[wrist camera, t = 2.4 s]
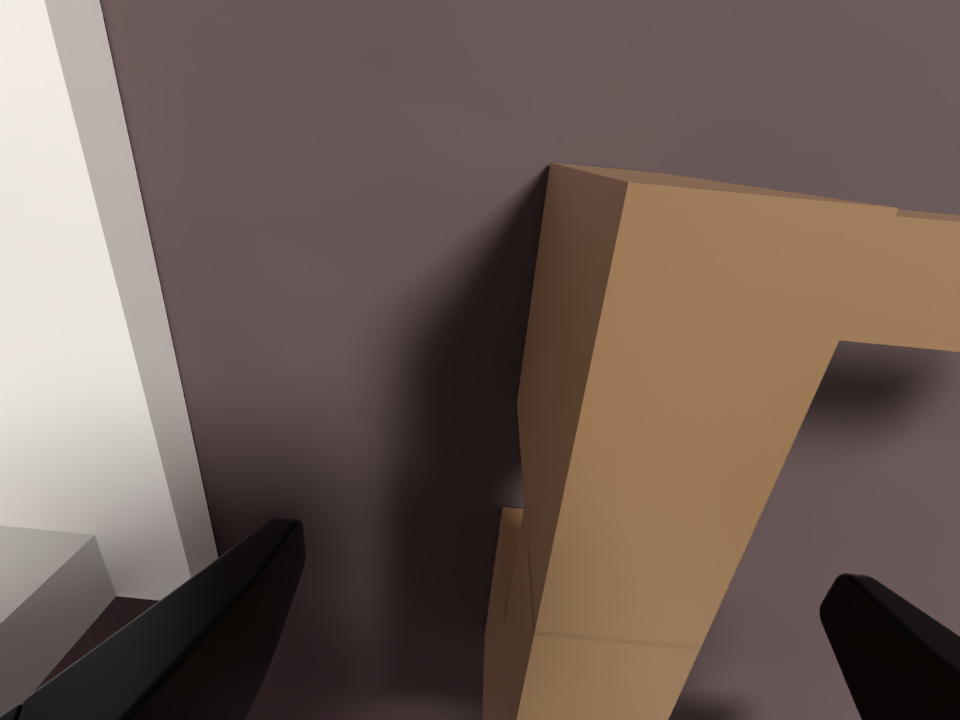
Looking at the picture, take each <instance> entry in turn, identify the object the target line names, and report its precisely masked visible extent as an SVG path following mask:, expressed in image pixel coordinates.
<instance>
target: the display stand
mask: <svg viewBox="0 0 960 720" xmlns="http://www.w3.org/2000/svg"><path fill="white" fill-rule="evenodd" d="M216 559H218V554H217V549H216V544H215V540H214V535H213V530H212V526H211V521H210V516H209V512H208V507H207V502H206V497H205V493H204V488H203V483H202V479H201V474H200V469H199V465H198V460H197V455H196V451H195V446H194V441H193V436H192V432H191V427H190V422H189V418H188V413H187V408H186V404H185V399H184V394H183V390H182V385H181V380H180V375H179V371H178V366H177V361H176V357H175V352H174V347H173V343H172V338H171V333H170V329H169V324H168V319H167V314H166V310H165V305H164V300H163V296H162V291H161V286H160V282H159V277H158V272H157V268H156V263H155V258H154V253H153V249H152V244H151V239H150V235H149V230H148V225H147V221H146V216H145V211H144V207H143V202H142V197H141V192H140V188H139V183H138V178H137V174H136V169H135V164H134V160H133V155H132V150H131V146H130V141H129V136H128V131H127V127H126V122H125V117H124V113H123V108H122V103H121V99H120V94H119V89H118V85H117V80H116V75H115V70H114V66H113V61H112V56H111V52H110V47H109V42H108V38H107V33H106V28H105V23H104V19H103V14H102V9H101V5H100V0H0V716H1V715H3V714H4V713H5V712H7V711H8V710H9V709H11V708H12V707H14V706H15V705H17V704H23V702H24V700H25V699H26V698H27V697H28V696H29V695H30V694H32V693H33V692H34V691H35V689H36V688H37V687H38V686H39V685H40V684H41V682H42V681H43V680H44V679H45V678H46V677H47V676H48V674H49V673H50V672H51V671H52V670H53V669H54V667H55V666H56V665H57V664H58V663H59V662H60V661H61V659H62V658H63V657H64V656H65V655H66V654H67V653H68V651H69V650H70V649H71V648H72V647H73V646H74V644H75V643H76V642H77V641H78V640H79V639H80V638H81V636H82V635H83V634H84V633H85V632H86V631H87V629H88V628H89V627H90V626H91V625H92V624H93V623H94V621H95V620H96V619H97V618H98V617H99V616H100V615H101V613H102V612H103V611H104V610H105V609H106V608H107V606H108V605H109V604H110V603H111V602H112V601H113V600H114V598H115V597H116V596H120V597H130V598H139V599H149V600H159V601H160V600H161V599H163V598H164V597H165V596H167V595H168V594H169V593H171V592H172V591H174V590H175V589H176V588H178V587H179V586H180V585H182V584H183V583H185V582H186V581H187V580H189V579H190V578H191V577H193V576H194V575H196V574H197V573H198V572H200V571H201V570H202V569H204V568H205V567H207V566H208V565H209V564H211V563H212V562H213V561H215V560H216Z"/></svg>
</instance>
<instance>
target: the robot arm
mask: <svg viewBox="0 0 960 720" xmlns="http://www.w3.org/2000/svg"><path fill="white" fill-rule="evenodd" d="M305 557H306V552H305V542H304V533H303V524H302V522H301V520H300V519H298V518H290V517H280V516H279V517H275V518H273V519H271V520H270V521H268V522H267V523H266V524H264V525H263V526H262V527H260V528H259V529H257V530H256V531H255V532H253V533H252V534H251V535H249V536H248V537H246V538H245V539H244V540H242V541H241V542H240V543H238V544H237V545H235V546H234V547H233V548H231V549H230V550H229V551H227V552H226V553H224V554H223V555H222V556H220V557H219V558H218V559H216V560H215V561H213V562H212V563H211V564H209V565H208V566H207V567H205V568H204V569H202V570H201V571H200V572H198V573H197V574H196V575H194V576H193V577H191V578H190V579H189V580H187V581H186V582H185V583H183V584H182V585H180V586H179V587H178V588H176V589H175V590H174V591H172V592H171V593H169V594H168V595H167V596H165V597H164V598H163V599H161V600H160V601H158V602H157V603H156V604H154V605H153V606H152V607H150V608H149V609H147V610H146V611H145V612H143V613H142V614H141V615H139V616H138V617H136V618H135V619H134V620H132V621H131V622H130V623H128V624H127V625H125V626H124V627H123V628H121V629H120V630H119V631H117V632H116V633H114V634H113V635H112V636H110V637H109V638H108V639H106V640H105V641H103V642H102V643H101V644H99V645H98V646H97V647H95V648H94V649H92V650H91V651H90V652H88V653H87V654H86V655H84V656H83V657H81V658H80V659H79V660H77V661H76V662H74V663H73V664H72V665H70V666H69V667H68V668H66V669H65V670H63V671H62V672H61V673H59V674H58V675H57V676H55V677H54V678H52V679H51V680H50V681H48V682H47V683H46V684H44V685H43V686H41V687H40V688H39V689H37V690H36V691H35V692H33V693H32V694H30V695H29V696H28V697H27V698H26V699H25V700H24V702H23V705H22V704H17V705H15V706H14V707H12V708H11V709H9V710H8V711H7V712H5V713H4V714H3V715H1V716H0V720H246V718H247V715H248V713H249V711H250V709H251V707H252V704H253V702H254V700H255V698H256V696H257V693H258V691H259V689H260V687H261V685H262V682H263V680H264V678H265V675H266V673H267V671H268V668H269V666H270V664H271V661H272V658H273V655H274V653H275V650H276V647H277V644H278V641H279V638H280V635H281V633H282V630H283V627H284V624H285V621H286V618H287V615H288V612H289V609H290V606H291V603H292V600H293V597H294V594H295V591H296V589H297V586H298V583H299V580H300V577H301V574H302V571H303V568H304V564H305ZM820 619H821V622H822V625H823V627H824V630H825V632H826V634H827V637H828V639H829V642H830V644H831V647H832V649H833V651H834V654H835V656H836V659H837V661H838V664H839V666H840V668H841V671H842V673H843V676H844V678H845V681H846V683H847V685H848V688H849V690H850V693H851V695H852V698H853V700H854V702H855V705H856V707H857V710H858V712H859V714H860V716H861V719H862V720H960V636H958V635H957V634H955V633H954V632H952V631H951V630H949V629H948V628H946V627H945V626H943V625H942V624H940V623H939V622H937V621H936V620H934V619H933V618H932V617H930V616H929V615H927V614H926V613H924V612H923V611H921V610H920V609H918V608H917V607H915V606H914V605H912V604H911V603H909V602H908V601H906V600H905V599H903V598H902V597H900V596H899V595H897V594H896V593H894V592H893V591H891V590H890V589H888V588H887V587H886V586H884V585H883V584H881V583H880V582H878V581H877V580H875V579H873V578H871V577H869V576H865V575H856V574H846V573H845V574H841V575H839V576H838V577H837V578H836V579H835V581H834V583H833V584H832V586H831V588H830V589H829V591H828V593H827V595H826V596H825V598H824V600H823V601H822V603H821V605H820Z"/></svg>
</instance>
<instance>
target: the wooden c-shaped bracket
mask: <svg viewBox="0 0 960 720" xmlns="http://www.w3.org/2000/svg"><path fill="white" fill-rule="evenodd" d="M898 209H899V208H895V207H888V206H881V205H875V204H868V203H861V202H854V201H847V200H840V199H834V198H827V197H820V196H813V195H806V194H800V193H793V192H786V191H779V190H772V189H765V188H759V187H752V186H745V185H738V184H731V183H724V182H718V181H711V180H704V179H697V178H690V177H683V176H677V175H670V174H663V173H655V172H644V171H634V170H623V169H613V168H602V167H592V166H581V165H571V164H560V163H550V167H549V175H548V182H547V189H546V196H545V203H544V211H543V218H542V225H541V232H540V239H539V247H538V254H537V261H536V268H535V276H534V283H533V290H532V297H531V304H530V312H529V319H528V326H527V333H526V340H525V348H524V355H523V362H522V369H521V377H520V384H519V391H518V398H517V412H518V426H519V439H520V453H521V466H522V480H523V494H524V509H519V508H509V507H502V514H501V521H500V528H499V535H498V543H497V550H496V557H495V564H494V571H493V579H492V586H491V593H490V600H489V607H488V615H487V622H486V629H485V640H484V676H483V712H482V720H668V719H669V717H670V715H671V713H672V711H673V708H674V706H675V704H676V702H677V699H678V697H679V695H680V693H681V691H682V688H683V686H684V684H685V682H686V679H687V677H688V675H689V673H690V671H691V668H692V666H693V664H694V662H695V659H696V657H697V655H698V653H699V651H700V648H701V646H702V644H703V642H704V640H705V637H706V635H707V633H708V631H709V628H710V626H711V624H712V622H713V620H714V617H715V615H716V613H717V611H718V608H719V606H720V604H721V602H722V600H723V597H724V595H725V593H726V591H727V589H728V586H729V584H730V582H731V580H732V577H733V575H734V573H735V571H736V569H737V566H738V564H739V562H740V560H741V557H742V555H743V553H744V551H745V549H746V546H747V544H748V542H749V540H750V538H751V535H752V533H753V531H754V529H755V526H756V524H757V522H758V520H759V518H760V515H761V513H762V511H763V509H764V506H765V504H766V502H767V500H768V498H769V495H770V493H771V491H772V489H773V486H774V484H775V482H776V480H777V478H778V475H779V473H780V471H781V469H782V467H783V464H784V462H785V460H786V458H787V455H788V453H789V451H790V449H791V447H792V444H793V442H794V440H795V438H796V435H797V433H798V431H799V429H800V427H801V424H802V422H803V420H804V418H805V416H806V413H807V411H808V409H809V407H810V404H811V402H812V400H813V398H814V396H815V393H816V391H817V389H818V387H819V384H820V382H821V380H822V378H823V376H824V373H825V371H826V369H827V367H828V364H829V362H830V360H831V358H832V356H833V353H834V351H835V349H836V347H837V345H838V342H839V340H840V341H851V342H862V343H872V344H883V345H893V346H904V347H915V348H925V349H936V350H947V351H957V352H960V215H950V214H940V213H929V212H919V211H908V210H898Z"/></svg>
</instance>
